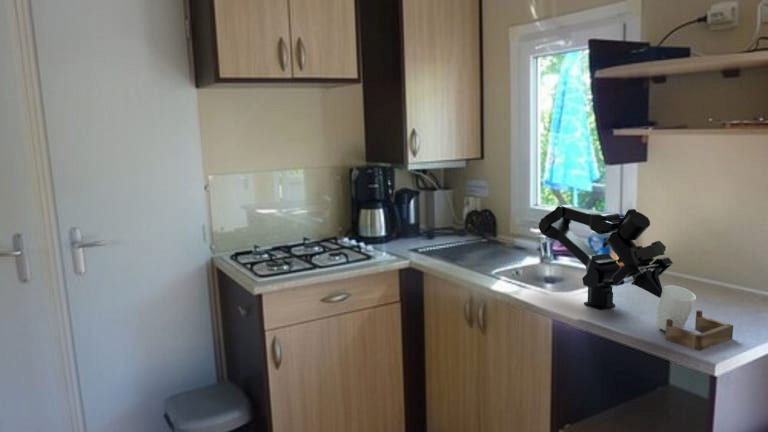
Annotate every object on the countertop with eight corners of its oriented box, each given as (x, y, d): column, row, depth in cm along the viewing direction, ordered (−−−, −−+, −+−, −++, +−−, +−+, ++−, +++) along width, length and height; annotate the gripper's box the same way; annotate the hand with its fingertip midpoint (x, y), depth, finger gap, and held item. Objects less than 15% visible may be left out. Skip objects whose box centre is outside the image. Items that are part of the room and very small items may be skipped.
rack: (665, 339, 148) (666, 320, 147) (697, 328, 155) (699, 309, 154) (699, 350, 140) (700, 330, 140) (732, 338, 147) (733, 319, 146)
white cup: (646, 321, 156) (656, 288, 152) (665, 315, 160) (675, 283, 156) (672, 337, 150) (683, 303, 146) (691, 330, 153) (702, 297, 149)
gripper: (621, 236, 153) (659, 285, 145) (666, 228, 162) (705, 273, 154) (596, 261, 161) (631, 309, 153) (641, 252, 170) (677, 297, 162)
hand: (662, 296), depth 155 cm, fingers closed, pressing on white cup
